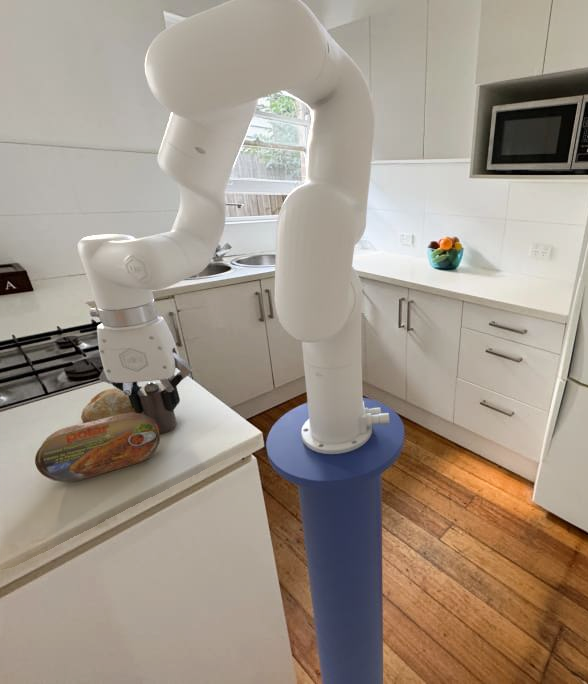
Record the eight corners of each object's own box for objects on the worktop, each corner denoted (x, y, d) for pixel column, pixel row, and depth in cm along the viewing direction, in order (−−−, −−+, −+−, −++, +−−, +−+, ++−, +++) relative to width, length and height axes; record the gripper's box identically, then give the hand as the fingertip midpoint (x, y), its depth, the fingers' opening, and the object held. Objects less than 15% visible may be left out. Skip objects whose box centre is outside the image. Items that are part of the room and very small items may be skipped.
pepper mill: (180, 418, 73) (168, 375, 69) (172, 432, 69) (159, 387, 65) (155, 420, 72) (141, 377, 68) (145, 434, 68) (130, 390, 64)
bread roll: (100, 455, 68) (96, 428, 64) (70, 417, 71) (65, 389, 66) (158, 427, 76) (159, 402, 72) (129, 394, 79) (128, 368, 74)
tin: (46, 490, 56) (24, 444, 53) (50, 477, 59) (30, 432, 55) (165, 455, 64) (152, 413, 60) (164, 445, 66) (152, 404, 63)
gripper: (54, 325, 57) (93, 426, 64) (178, 318, 60) (202, 415, 67) (83, 309, 63) (116, 402, 71) (193, 304, 67) (213, 393, 74)
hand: (157, 407), depth 69 cm, fingers closed on pepper mill, 4 cm apart
